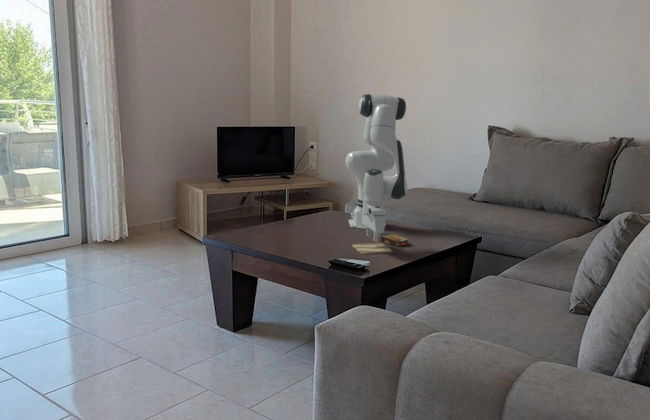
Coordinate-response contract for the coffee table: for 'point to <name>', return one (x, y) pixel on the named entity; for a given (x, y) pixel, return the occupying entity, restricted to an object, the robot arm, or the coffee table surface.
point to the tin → (394, 239)
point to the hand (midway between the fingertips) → (372, 238)
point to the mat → (372, 248)
